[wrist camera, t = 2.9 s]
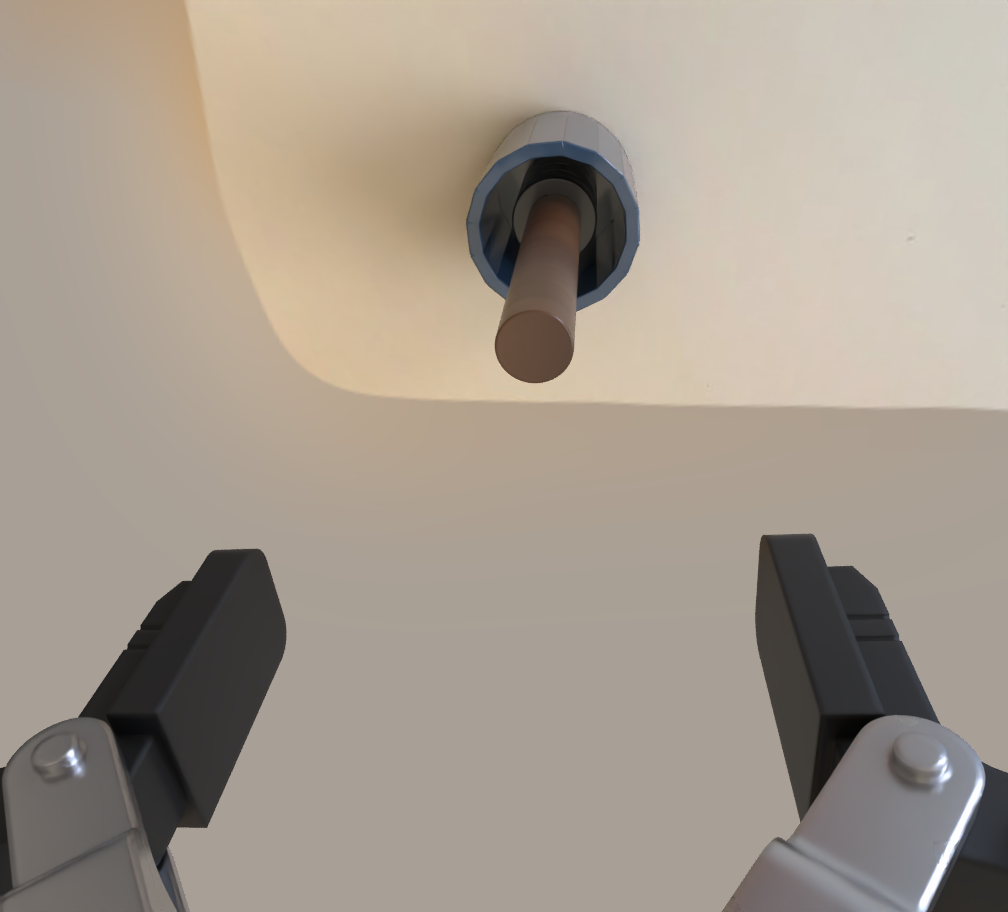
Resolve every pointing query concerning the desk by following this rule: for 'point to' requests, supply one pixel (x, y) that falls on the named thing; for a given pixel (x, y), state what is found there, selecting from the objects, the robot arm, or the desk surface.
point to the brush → (546, 268)
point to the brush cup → (502, 184)
